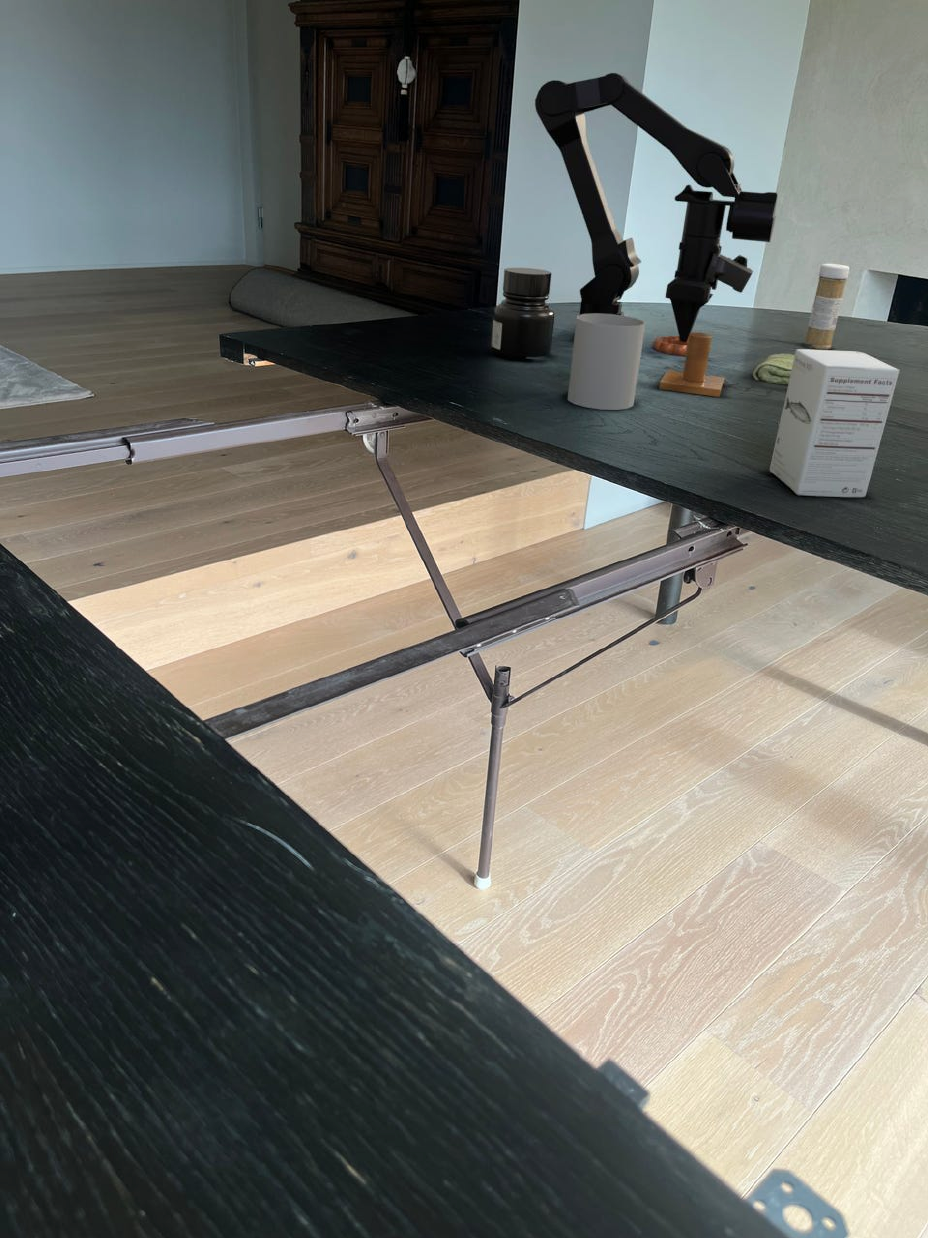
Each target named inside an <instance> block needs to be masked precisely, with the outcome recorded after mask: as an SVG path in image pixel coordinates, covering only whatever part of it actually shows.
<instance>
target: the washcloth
mask: <svg viewBox="0 0 928 1238" xmlns="http://www.w3.org/2000/svg"><path fill="white" fill-rule="evenodd" d="M794 357H795V354H791V353H779V354H777V353H776V354H775V353H774V354H771V355H768V356H767V357H766V359H765V360H764V361H763V362H761V363H759V364H758V365H756V367H755V368H754V370H753V372H752V377H753V379H754V380H755V381H762V382H764V383H769V384H776V385H782V386H783V385H785V386H788V384H789V380H790V375H791V371H792V366H793V362H794Z"/></svg>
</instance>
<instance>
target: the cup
mask: <svg viewBox="0 0 928 1238" xmlns="http://www.w3.org/2000/svg"><path fill="white" fill-rule="evenodd" d="M575 320H576V322H575V331H574V339H573V347H572V357H571V365H570V366H571V367H570V374H569V375H570V376H569V382H568V383H569V384H568V390H567V391H568V393H567V401H568V402H569V403H572V404H574V405H577V406H580V407H584V408H589V409H594V410H600V411H601V410H602V411H619V410H628V409H631V408H632V407H634V405H635V397H636V392H637V391H636V389H637V382H638V377H639V369H640V363H641V356H642V349H643V343H644V335H645V328H646V322H645V320H643V319H639V318H636V317H631V316H627V315H624V316H622V315H613V314H597V313H593V314H582V315H579V314H578V315H576V319H575Z"/></svg>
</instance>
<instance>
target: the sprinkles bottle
mask: <svg viewBox="0 0 928 1238" xmlns="http://www.w3.org/2000/svg"><path fill="white" fill-rule="evenodd" d="M849 273H850V267H849V266H848V265H844V264H838V263H822V264H821V265H820V268H819V272H818V282H817V287H816V290H815V296H814V300H813V304H812V308H811V311H810V316H809V321H808V324H807V325H808V328H807V331H806V336H805V341H804V342H803V344H804V345H805V344H806V345H811V349H812V350H831V348H832V343H833V338H834V332H835V330H836V326H837V323H838V318H839V314H840V310H841V305H842V301H843V295H844V289H845V285H846V282H847V279H848V277H849Z"/></svg>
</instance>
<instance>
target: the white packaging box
mask: <svg viewBox="0 0 928 1238" xmlns="http://www.w3.org/2000/svg"><path fill="white" fill-rule="evenodd" d="M794 355H795V357H794V362H793V366H792V371H791V375H790V380H789V384H788V385H787V388H786V389H787V390H786V394H785V398H784V402H783V407H782V412H781V416H780V420H779V425H778V430H777V433H776V434H777V435H776V438H775V443H774V448H773V453H772V457H771V461H770V466H769V472H770V473H772V474H773V475H775V476H776V477H777V478H778V479H779V480H781V482H783V483H784V484H785V486H787V487H788V488H790V490H792V491H793V493H794V494H796V496H803V497H805V496H806V497H831V498H832V497H833V498H865V497H866V495H867V492H868V488H869V484H870V481H871V477H872V474H873V470H874V467H875V462H876V459H877V456H878V451H879V448H880V443H881V440H882V437H883V433H884V430H885V429H884V428H885V426H886V422H887V419H888V414H889V412H890V407H891V404H892V401H893V397H894V393H895V388H896V386H897V382H898V379H899V378H898V377H899V374H900V369H899V368H896V367H894V366H892V365H890V364H887V363H885V362H883V361H882V360H879V359H877V358H875V357H873V356H871V355H869V354H867V353H865V352H863V351H855V350H835V349H834V350H831V349H828V350H820V349H810V348H809V349H808V348H806V349H805V348H804V349H803V348H798V349H795V352H794Z"/></svg>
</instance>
